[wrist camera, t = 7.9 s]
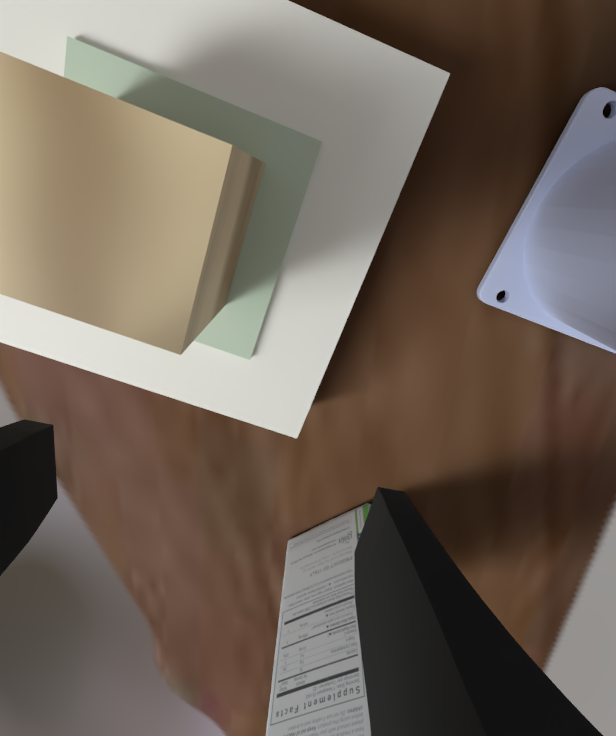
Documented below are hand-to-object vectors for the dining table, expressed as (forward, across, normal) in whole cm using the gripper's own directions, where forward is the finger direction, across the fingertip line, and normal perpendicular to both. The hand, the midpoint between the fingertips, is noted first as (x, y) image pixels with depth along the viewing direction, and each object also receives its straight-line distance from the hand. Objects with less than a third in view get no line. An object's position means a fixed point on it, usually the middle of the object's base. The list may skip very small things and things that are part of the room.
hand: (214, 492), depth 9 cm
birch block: (+7, +4, -5) cm, 10 cm away
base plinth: (+10, +4, -5) cm, 12 cm away
